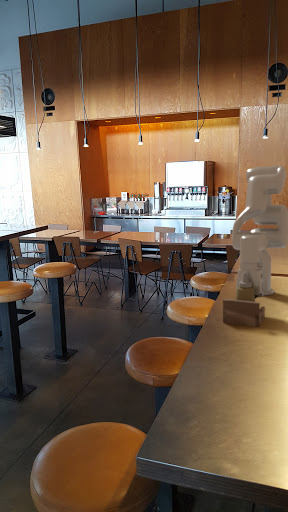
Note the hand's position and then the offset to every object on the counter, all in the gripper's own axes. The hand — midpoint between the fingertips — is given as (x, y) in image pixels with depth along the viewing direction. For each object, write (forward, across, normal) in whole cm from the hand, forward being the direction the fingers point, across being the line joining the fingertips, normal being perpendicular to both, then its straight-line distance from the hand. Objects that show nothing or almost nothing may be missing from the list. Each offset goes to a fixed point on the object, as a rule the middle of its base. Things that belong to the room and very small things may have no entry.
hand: (249, 309), depth 150 cm
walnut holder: (+2, 0, +9) cm, 9 cm away
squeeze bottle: (+2, 0, +6) cm, 6 cm away
